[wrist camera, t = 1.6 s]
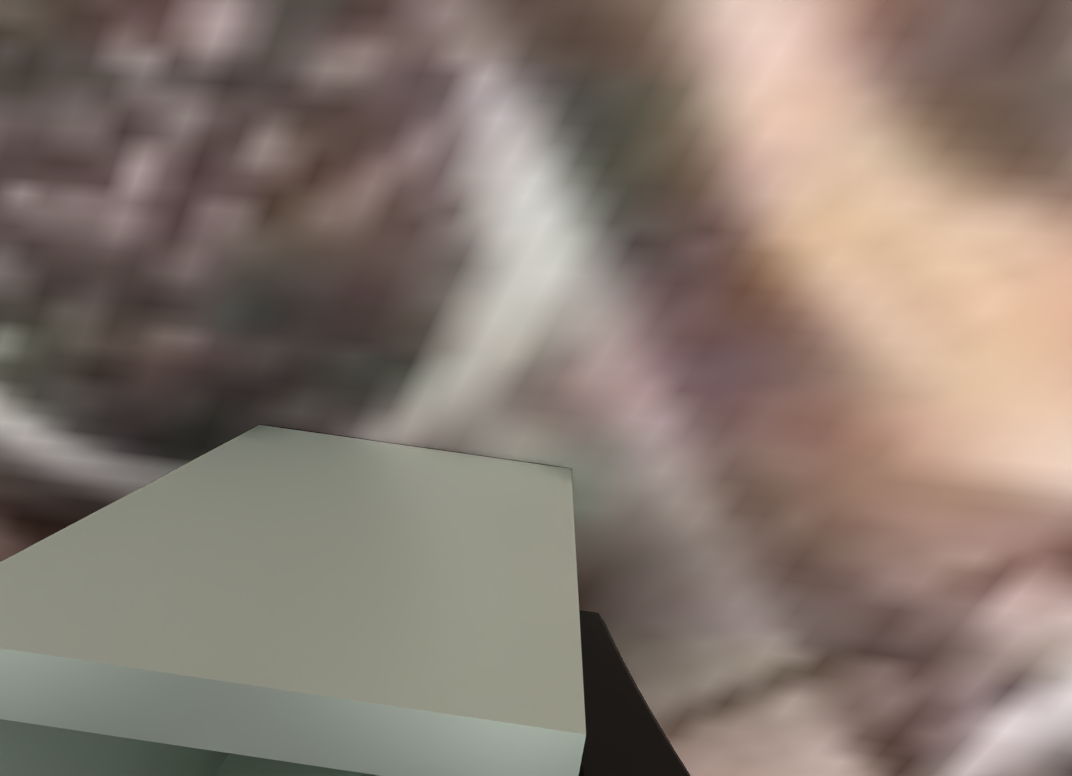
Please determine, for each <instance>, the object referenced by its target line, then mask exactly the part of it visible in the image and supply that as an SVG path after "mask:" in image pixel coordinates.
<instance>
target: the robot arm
mask: <svg viewBox="0 0 1072 776" xmlns="http://www.w3.org/2000/svg"><path fill="white" fill-rule="evenodd" d="M579 615H580V633H581V651H582V669H583V687H584V705H585V723H586V738H585V743H584V749H583V754H582V760H581V765H580V770H579V776H690V774H689V773H688V771H687V769H686V768H685V766H684V765H683V763H682V761H681V760H680V758H679V757H678V755H677V754H676V752H675V750H674V749H673V747H672V745H671V744H670V742H669V740H668V739H667V737H666V735H665V734H664V732H663V730H662V729H661V727H660V725H659V723H658V722H657V720H656V718H655V717H654V715H653V713H652V712H651V710H650V708H649V707H648V705H647V703H646V701H645V700H644V698H643V696H642V694H641V693H640V691H639V689H638V687H637V685H636V683H635V682H634V680H633V678H632V676H631V674H630V672H629V670H628V669H627V667H626V665H625V663H624V661H623V659H622V657H621V655H620V653H619V651H618V649H617V647H616V645H615V643H614V641H613V639H612V637H611V635H610V633H609V631H608V629H607V627H606V624H605V622H604V621H603V619H602V618H601V617H600V615H599V614H598V613H593V612H586V611H580V610H579Z"/></svg>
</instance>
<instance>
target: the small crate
mask: <svg viewBox="0 0 1072 776" xmlns="http://www.w3.org/2000/svg"><path fill="white" fill-rule="evenodd" d="M585 738H586V723H585V705H584V687H583V669H582V651H581V633H580V615H579V597H578V579H577V561H576V544H575V526H574V508H573V490H572V472H571V469H569V468H562V467H555V466H548V465H541V464H534V463H527V462H520V461H513V460H505V459H498V458H491V457H484V456H477V455H470V454H463V453H456V452H449V451H442V450H434V449H427V448H420V447H413V446H406V445H399V444H392V443H385V442H378V441H371V440H363V439H356V438H349V437H342V436H335V435H328V434H321V433H314V432H307V431H300V430H292V429H285V428H278V427H271V426H264V425H258V426H257V427H255V428H253V429H251V430H249V431H247V432H245V433H243V434H241V435H240V436H238V437H236V438H234V439H232V440H230V441H228V442H226V443H224V444H223V445H221V446H219V447H217V448H215V449H213V450H211V451H209V452H207V453H206V454H204V455H202V456H200V457H198V458H196V459H194V460H192V461H190V462H189V463H187V464H185V465H183V466H181V467H179V468H177V469H175V470H173V471H172V472H170V473H168V474H166V475H164V476H162V477H160V478H158V479H156V480H155V481H153V482H151V483H149V484H147V485H145V486H143V487H141V488H139V489H138V490H136V491H134V492H132V493H130V494H128V495H126V496H124V497H122V498H121V499H119V500H117V501H115V502H113V503H111V504H109V505H107V506H105V507H104V508H102V509H100V510H98V511H96V512H94V513H92V514H90V515H88V516H87V517H85V518H83V519H81V520H79V521H77V522H75V523H73V524H71V525H70V526H68V527H66V528H64V529H62V530H60V531H58V532H56V533H54V534H53V535H51V536H49V537H47V538H45V539H43V540H41V541H39V542H37V543H36V544H34V545H32V546H30V547H28V548H26V549H24V550H22V551H20V552H19V553H17V554H15V555H13V556H11V557H9V558H7V559H5V560H3V561H2V562H0V776H579V770H580V765H581V760H582V754H583V749H584V743H585Z"/></svg>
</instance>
